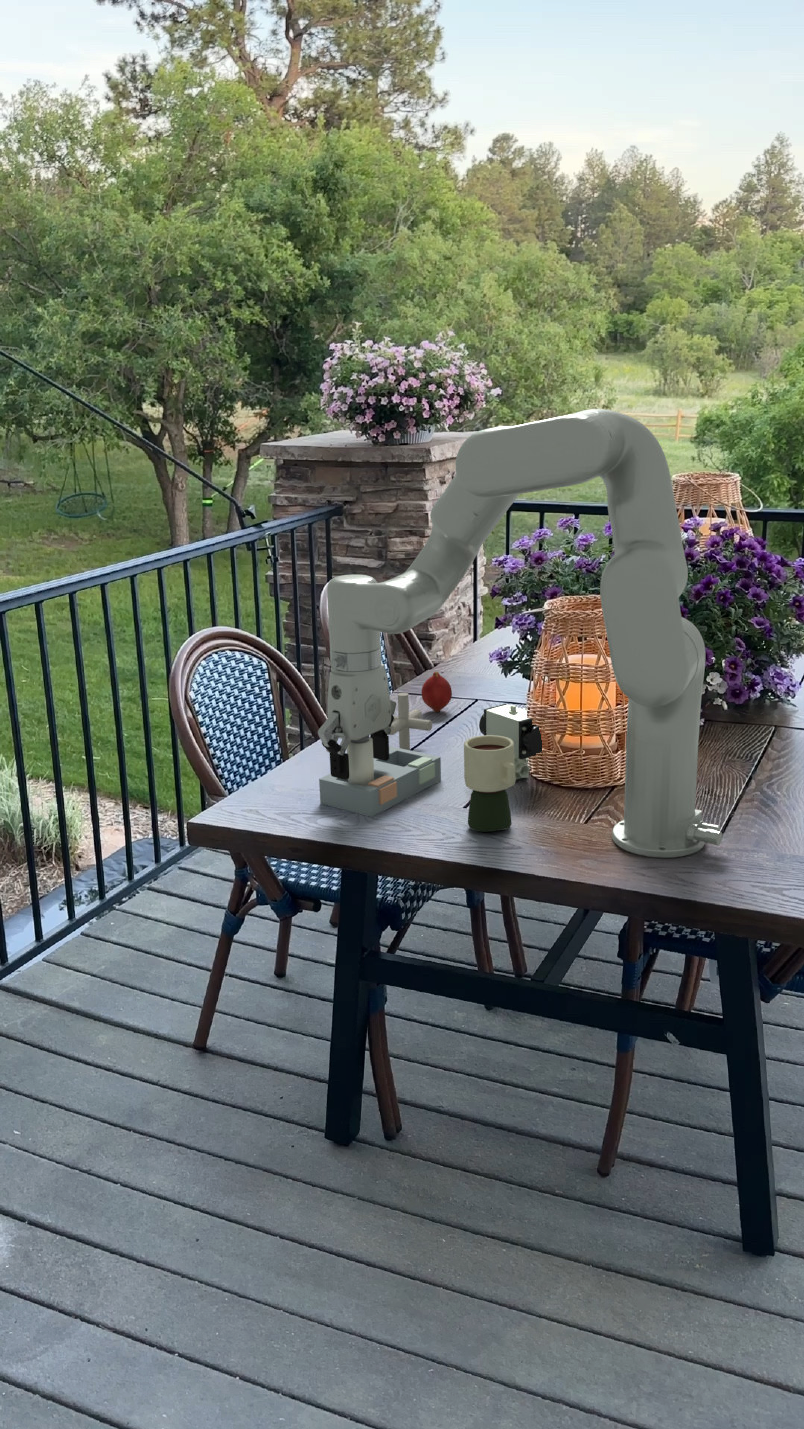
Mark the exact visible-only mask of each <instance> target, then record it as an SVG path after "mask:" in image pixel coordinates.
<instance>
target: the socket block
mask: <svg viewBox="0 0 804 1429" xmlns="http://www.w3.org/2000/svg"><path fill="white" fill-rule="evenodd" d="M441 758H442V757H441V756H439V755H438V756H437V755H432V754H428V753H424V752H419V751H414V750H411V749H410V750H406V749H401V748H399V747H396V746H391V745H389V760H387V761H384V760H380V759H375V758H373V762H374V781H372V782H369V783H368V785H366V786H360V785H356V784H352V783H348V779H346V780H344V779H340V778H336V777H332V776H331V773H329V774H327V775H324V776H322V777H319V779H318V782H319V784H318V785H319V786H318V787H319V799H320V800H319V801H320V804H322V805H326V806H329V807H333V808H337V809H340V810H344V811H348V812H352V813H355V814H360V815H363V816H367V817H371V818H372V817H374V816H376V815H378V814H380V813H382V812H384V811H385V810H387V809H389V808H392V807H393V806H395V805H397V804H399V803H400V802H403V801H405V800H406V799H409V798H411V797H412V796H414V795H416V794H418V793H420V792H422V791H424V790H426V789H427V788H430V787H431V786H433V785H435V784H437V783H439V782H441V781H442V770H441V769H442V767H441V766H442V765H441V764H442V763H441V762H442V761H441Z"/></svg>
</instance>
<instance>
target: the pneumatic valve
mask: <svg viewBox="0 0 804 1429" xmlns="http://www.w3.org/2000/svg"><path fill="white" fill-rule="evenodd" d="M527 711H528V710H527V709H526V708H525V707H524V708H519V707H517V705H514V704H508V703H502V704H498V705H496V706H491V707H488V708H484V709H483V713H482V715H481V717H480V719H479V723H478V726H479V727H478V729H479V731H480V733H481V734H482V736H485V735H495V736H503V737H507V738H510V739H511V740H512V741H513V743H514V756H515V762H514V765H515V782H516V781H517V780H519V779H526V778H528V777H529V773H530V767H529V764H528V763H529V759H528V758H532V757H534V756H537V755H536V753H540V752H541V751H542V740H541V734H540V731H539V726H536V725H532V719H530V718H527Z"/></svg>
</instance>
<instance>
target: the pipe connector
mask: <svg viewBox="0 0 804 1429" xmlns="http://www.w3.org/2000/svg"><path fill="white" fill-rule="evenodd" d="M409 704H410V698H409V693H408V692H399V693H398V694H397V708H398V709H397V711H398V712H397V713H398V715H393V716H394V720H393V722H392V725H391V727H390V728H391V733H390V734H389V735H388V736H393V735H395V734H397V733H398V741H399V742H398V744H399V745H398V748H401V749H406V750H410V751H411V743H410V741H411V739H410V738H411V736H410V735H411V734H410V729H411V730H419V731H426V732H430V731H431V730H432V729H433V721H432V720H431V719H421V717H422V716H423V713H422V711H421V709H419V708H415V709H413V710H411V711H410V706H409Z"/></svg>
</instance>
